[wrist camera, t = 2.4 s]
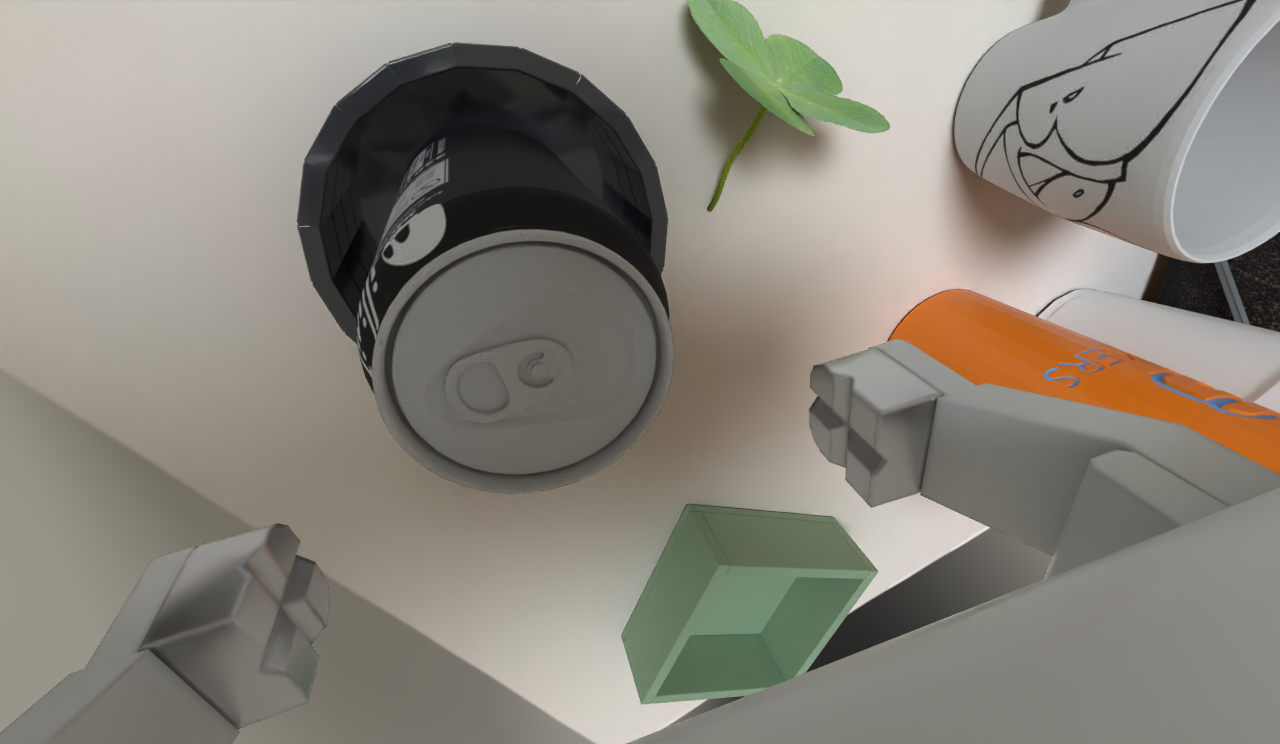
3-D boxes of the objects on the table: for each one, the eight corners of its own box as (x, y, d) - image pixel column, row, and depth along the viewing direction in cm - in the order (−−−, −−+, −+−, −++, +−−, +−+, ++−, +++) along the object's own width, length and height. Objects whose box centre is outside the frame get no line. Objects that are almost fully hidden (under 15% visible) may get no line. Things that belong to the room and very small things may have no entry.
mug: (987, -112, 20) (1359, -222, 12) (1153, -96, 22) (1569, -182, 14) (909, 204, 26) (1123, 277, 18) (1047, 193, 28) (1296, 253, 20)
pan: (306, 316, 21) (279, 367, 17) (350, -20, 16) (325, -38, 13) (584, 369, 25) (605, 417, 22) (675, 118, 21) (717, 132, 18)
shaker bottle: (960, 410, 35) (1423, 738, 18) (843, 414, 32) (1271, 810, 15) (1027, 275, 31) (1706, 541, 14) (901, 266, 28) (1571, 587, 11)
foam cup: (1017, 283, 30) (1327, 411, 20) (1148, 246, 32) (1500, 346, 21) (981, 418, 35) (1212, 578, 25) (1096, 380, 37) (1359, 516, 26)
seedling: (676, 117, 26) (748, -33, 20) (807, 228, 25) (915, 102, 20) (579, 170, 21) (639, -3, 16) (734, 305, 21) (848, 170, 16)
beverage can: (599, 271, 23) (715, 444, 13) (444, 323, 22) (439, 551, 12) (550, 100, 19) (659, 156, 9) (362, 154, 18) (259, 281, 8)
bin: (620, 635, 36) (641, 705, 32) (686, 503, 32) (719, 565, 28) (759, 632, 41) (791, 692, 37) (834, 516, 36) (879, 571, 33)
